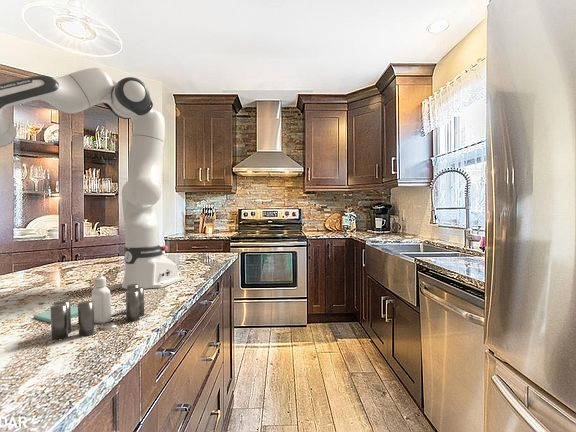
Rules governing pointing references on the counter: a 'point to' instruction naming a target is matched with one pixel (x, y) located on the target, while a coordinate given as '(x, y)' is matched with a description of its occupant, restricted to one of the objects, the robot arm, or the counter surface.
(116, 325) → the grey flat disc
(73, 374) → the counter surface
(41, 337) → the counter surface
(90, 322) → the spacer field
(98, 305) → the eye dropper bottle
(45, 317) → the pad
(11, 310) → the counter surface
